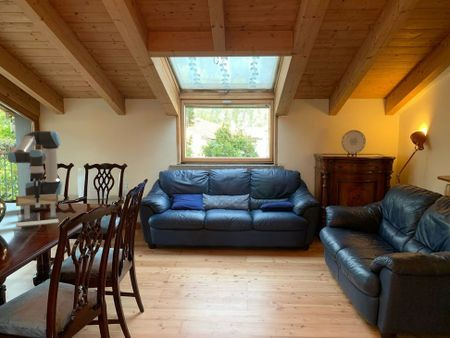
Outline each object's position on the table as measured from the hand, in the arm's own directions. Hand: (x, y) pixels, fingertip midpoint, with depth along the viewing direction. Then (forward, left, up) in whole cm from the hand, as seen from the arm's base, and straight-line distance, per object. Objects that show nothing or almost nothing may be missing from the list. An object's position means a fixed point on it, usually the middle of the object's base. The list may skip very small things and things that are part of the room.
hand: (37, 206), depth 209 cm
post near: (-13, -7, -11) cm, 19 cm away
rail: (0, 0, +2) cm, 2 cm away
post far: (-13, +9, -11) cm, 20 cm away
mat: (0, 0, -11) cm, 11 cm away
